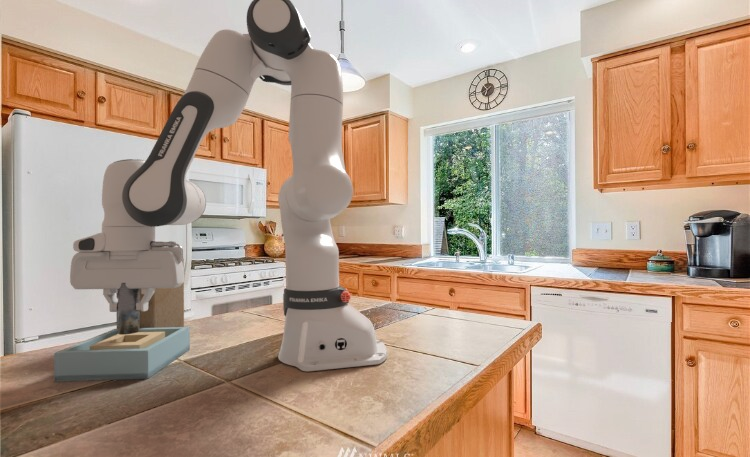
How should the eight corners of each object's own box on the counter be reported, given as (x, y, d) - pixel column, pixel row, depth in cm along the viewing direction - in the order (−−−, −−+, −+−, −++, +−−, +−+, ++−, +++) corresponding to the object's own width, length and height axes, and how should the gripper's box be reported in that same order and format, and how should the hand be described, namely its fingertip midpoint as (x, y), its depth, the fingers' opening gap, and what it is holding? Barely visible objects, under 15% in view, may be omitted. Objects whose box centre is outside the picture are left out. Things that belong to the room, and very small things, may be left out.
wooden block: (152, 349, 81) (152, 259, 81) (115, 347, 83) (115, 259, 83) (185, 336, 90) (184, 256, 91) (150, 334, 92) (150, 256, 93)
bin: (189, 349, 80) (189, 326, 80) (148, 378, 64) (148, 350, 64) (115, 351, 79) (114, 328, 79) (54, 381, 63) (54, 353, 63)
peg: (143, 329, 74) (143, 280, 74) (132, 334, 70) (132, 282, 70) (125, 329, 73) (125, 280, 73) (113, 334, 70) (113, 282, 70)
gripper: (190, 240, 76) (189, 307, 75) (88, 241, 75) (88, 308, 74) (174, 241, 69) (174, 313, 69) (63, 242, 68) (63, 315, 68)
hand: (129, 311), depth 72 cm, fingers closed on peg, 4 cm apart
